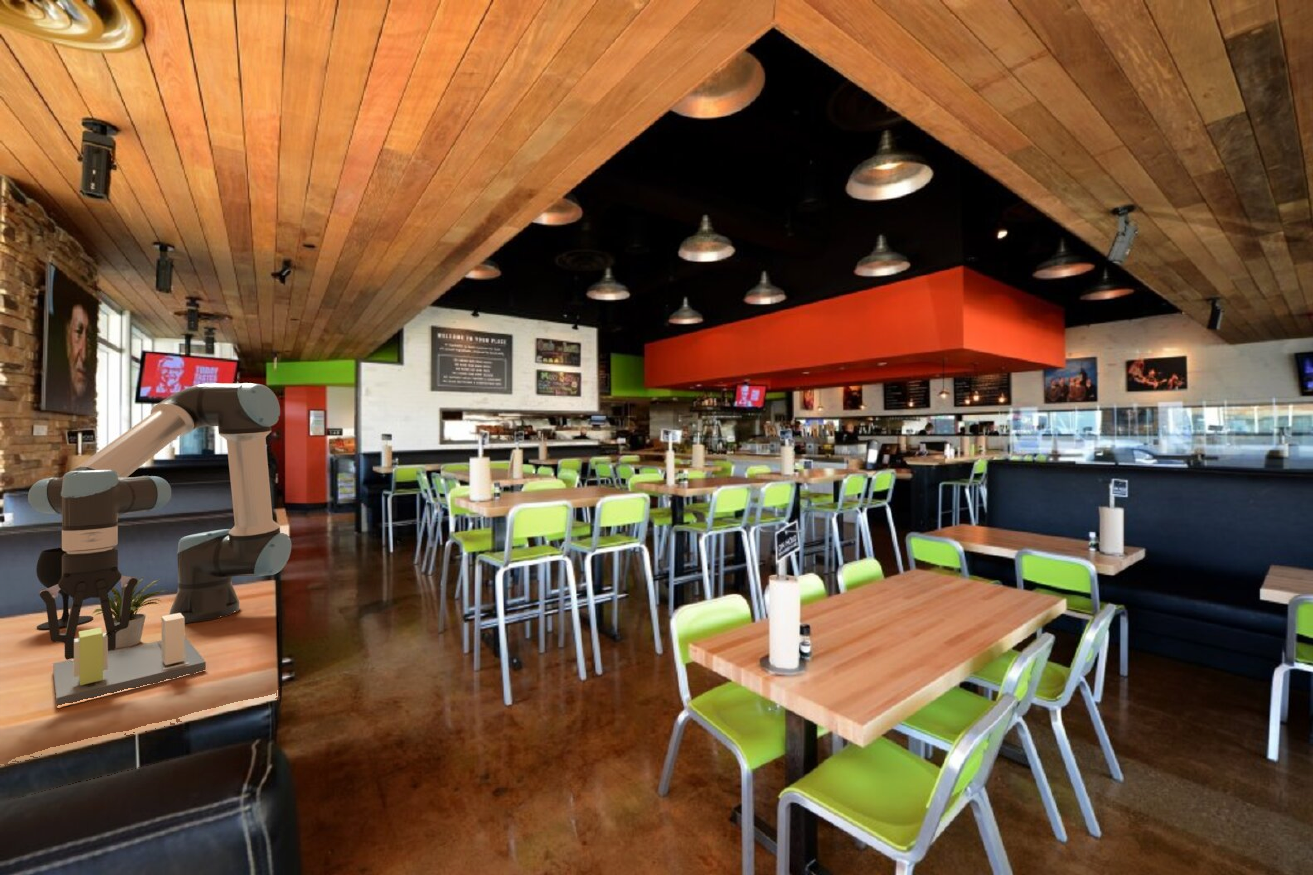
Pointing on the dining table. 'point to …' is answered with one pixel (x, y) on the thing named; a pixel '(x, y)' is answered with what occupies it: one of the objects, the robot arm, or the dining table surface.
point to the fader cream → (173, 638)
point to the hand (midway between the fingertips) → (90, 670)
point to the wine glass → (55, 583)
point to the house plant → (136, 621)
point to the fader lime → (91, 656)
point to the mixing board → (125, 672)
